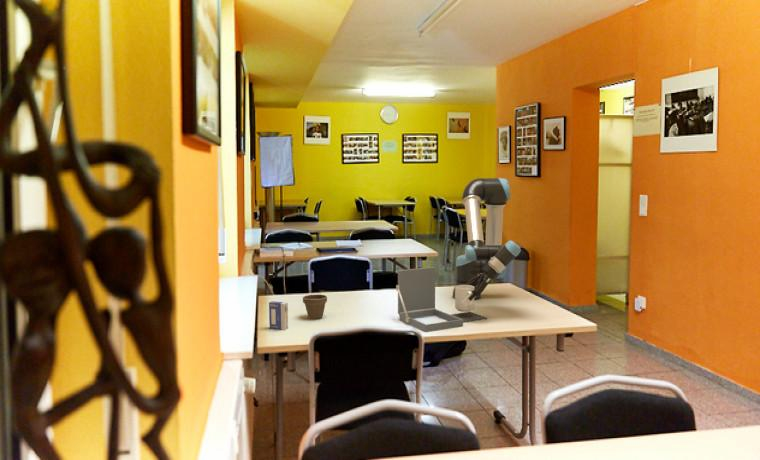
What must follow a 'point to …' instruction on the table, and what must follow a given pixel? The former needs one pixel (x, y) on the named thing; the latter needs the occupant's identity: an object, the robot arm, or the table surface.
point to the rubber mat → (469, 316)
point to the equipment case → (421, 300)
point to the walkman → (278, 315)
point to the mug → (463, 297)
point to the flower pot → (315, 305)
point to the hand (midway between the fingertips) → (460, 301)
